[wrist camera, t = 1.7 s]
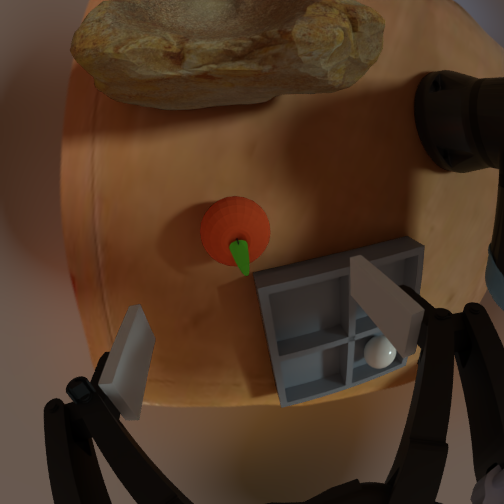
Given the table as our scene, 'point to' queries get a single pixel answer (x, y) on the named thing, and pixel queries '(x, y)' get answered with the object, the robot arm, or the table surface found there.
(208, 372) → the table surface
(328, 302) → the divided tray
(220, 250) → the clementine
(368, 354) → the cream egg
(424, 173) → the table surface
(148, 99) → the rough brown rock
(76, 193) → the table surface
